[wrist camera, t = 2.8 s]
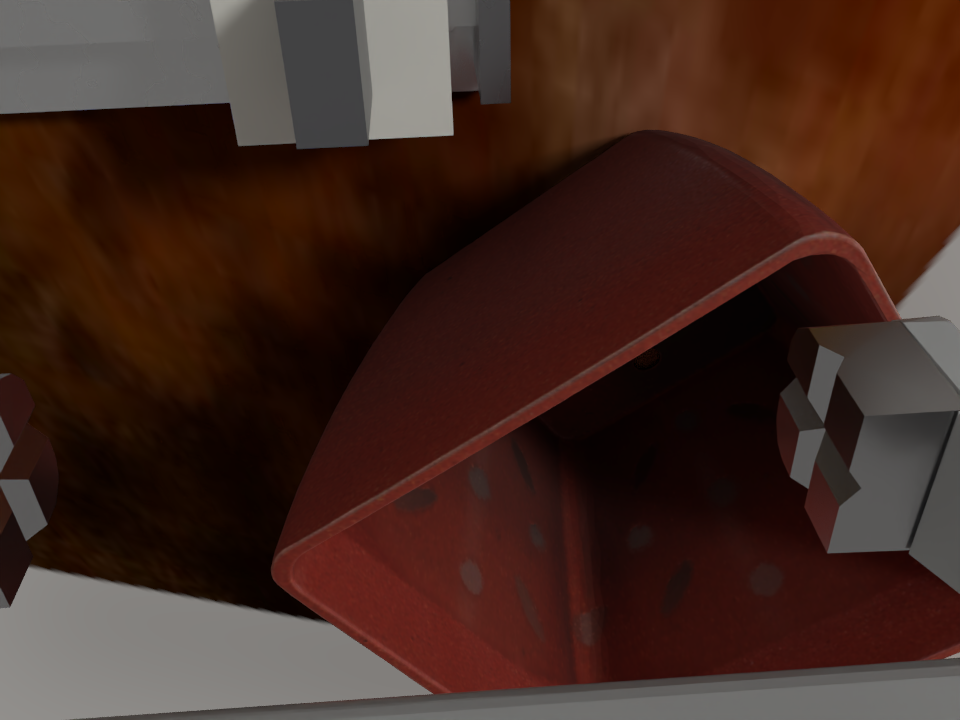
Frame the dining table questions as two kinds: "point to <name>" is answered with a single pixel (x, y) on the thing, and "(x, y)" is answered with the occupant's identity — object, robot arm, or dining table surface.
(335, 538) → the plant pot
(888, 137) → the dining table surface
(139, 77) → the rail
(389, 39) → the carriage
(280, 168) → the dining table surface
